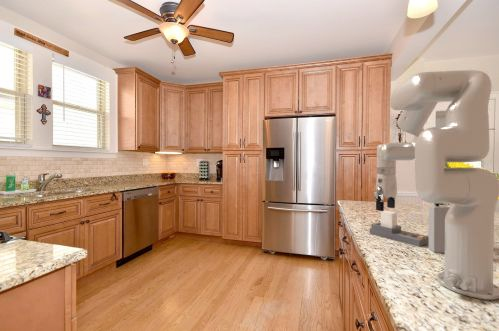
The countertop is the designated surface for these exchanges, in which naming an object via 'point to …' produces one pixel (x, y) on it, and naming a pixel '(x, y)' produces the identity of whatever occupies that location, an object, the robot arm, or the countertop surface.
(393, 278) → the countertop surface
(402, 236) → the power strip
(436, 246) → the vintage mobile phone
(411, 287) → the countertop surface
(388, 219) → the charger
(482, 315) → the countertop surface
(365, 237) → the countertop surface
